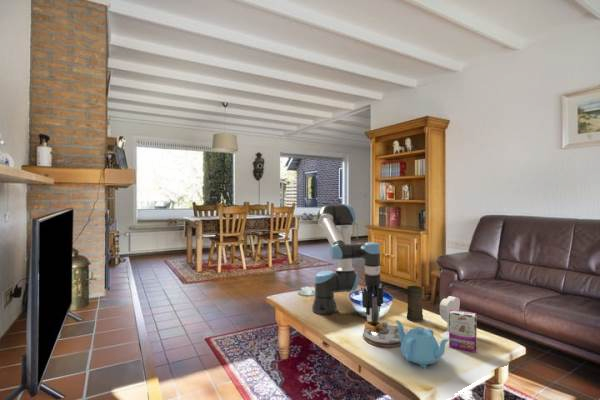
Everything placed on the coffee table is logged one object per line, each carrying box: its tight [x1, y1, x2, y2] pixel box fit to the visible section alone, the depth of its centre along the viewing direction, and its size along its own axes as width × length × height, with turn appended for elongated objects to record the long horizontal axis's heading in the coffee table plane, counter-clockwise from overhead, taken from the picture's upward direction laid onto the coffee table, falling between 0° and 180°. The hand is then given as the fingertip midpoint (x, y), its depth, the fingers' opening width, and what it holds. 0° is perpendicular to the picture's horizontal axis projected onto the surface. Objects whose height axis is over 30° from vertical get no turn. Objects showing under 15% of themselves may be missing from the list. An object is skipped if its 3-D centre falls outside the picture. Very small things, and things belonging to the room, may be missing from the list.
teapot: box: [395, 319, 450, 369], centre depth 139 cm, size 16×20×14 cm
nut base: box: [362, 332, 401, 349], centre depth 161 cm, size 20×20×1 cm
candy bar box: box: [448, 310, 478, 353], centre depth 150 cm, size 11×5×16 cm, turn 59°
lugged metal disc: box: [363, 320, 400, 345], centre depth 161 cm, size 19×19×4 cm
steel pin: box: [370, 294, 379, 326], centre depth 165 cm, size 4×4×16 cm
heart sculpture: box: [439, 295, 461, 339], centre depth 166 cm, size 16×5×18 cm, turn 132°
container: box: [406, 285, 424, 323], centre depth 185 cm, size 9×9×18 cm
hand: (373, 319), depth 165 cm, fingers open, 4 cm apart
